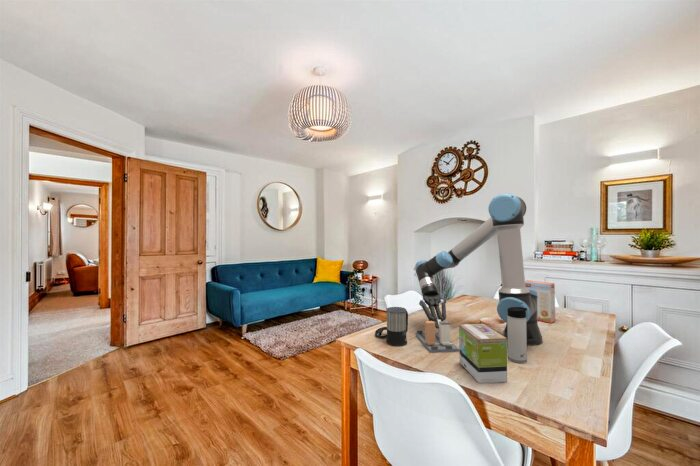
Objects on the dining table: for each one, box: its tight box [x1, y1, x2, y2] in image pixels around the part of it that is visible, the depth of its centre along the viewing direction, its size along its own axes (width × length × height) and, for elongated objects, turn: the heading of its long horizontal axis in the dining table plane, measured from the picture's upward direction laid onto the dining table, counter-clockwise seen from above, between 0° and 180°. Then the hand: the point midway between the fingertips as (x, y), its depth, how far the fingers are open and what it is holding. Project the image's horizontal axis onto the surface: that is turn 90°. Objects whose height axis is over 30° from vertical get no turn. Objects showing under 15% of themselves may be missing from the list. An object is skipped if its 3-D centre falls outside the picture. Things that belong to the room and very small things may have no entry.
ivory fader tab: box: [439, 320, 451, 345], centre depth 123 cm, size 3×4×9 cm
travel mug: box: [506, 307, 528, 364], centre depth 111 cm, size 6×7×20 cm
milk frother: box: [374, 306, 409, 347], centre depth 133 cm, size 14×16×15 cm
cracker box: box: [525, 279, 556, 324], centre depth 161 cm, size 14×6×21 cm, turn 35°
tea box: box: [458, 323, 508, 384], centre depth 101 cm, size 15×10×15 cm
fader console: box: [415, 320, 459, 354], centre depth 128 cm, size 20×12×11 cm, turn 4°
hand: (442, 334), depth 126 cm, fingers closed
